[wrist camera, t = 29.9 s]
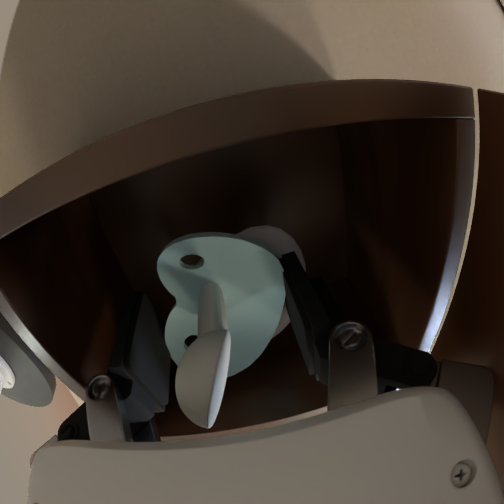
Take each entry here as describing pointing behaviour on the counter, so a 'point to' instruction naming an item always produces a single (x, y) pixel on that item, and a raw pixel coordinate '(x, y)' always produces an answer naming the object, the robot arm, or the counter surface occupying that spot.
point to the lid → (483, 276)
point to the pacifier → (222, 309)
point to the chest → (248, 226)
